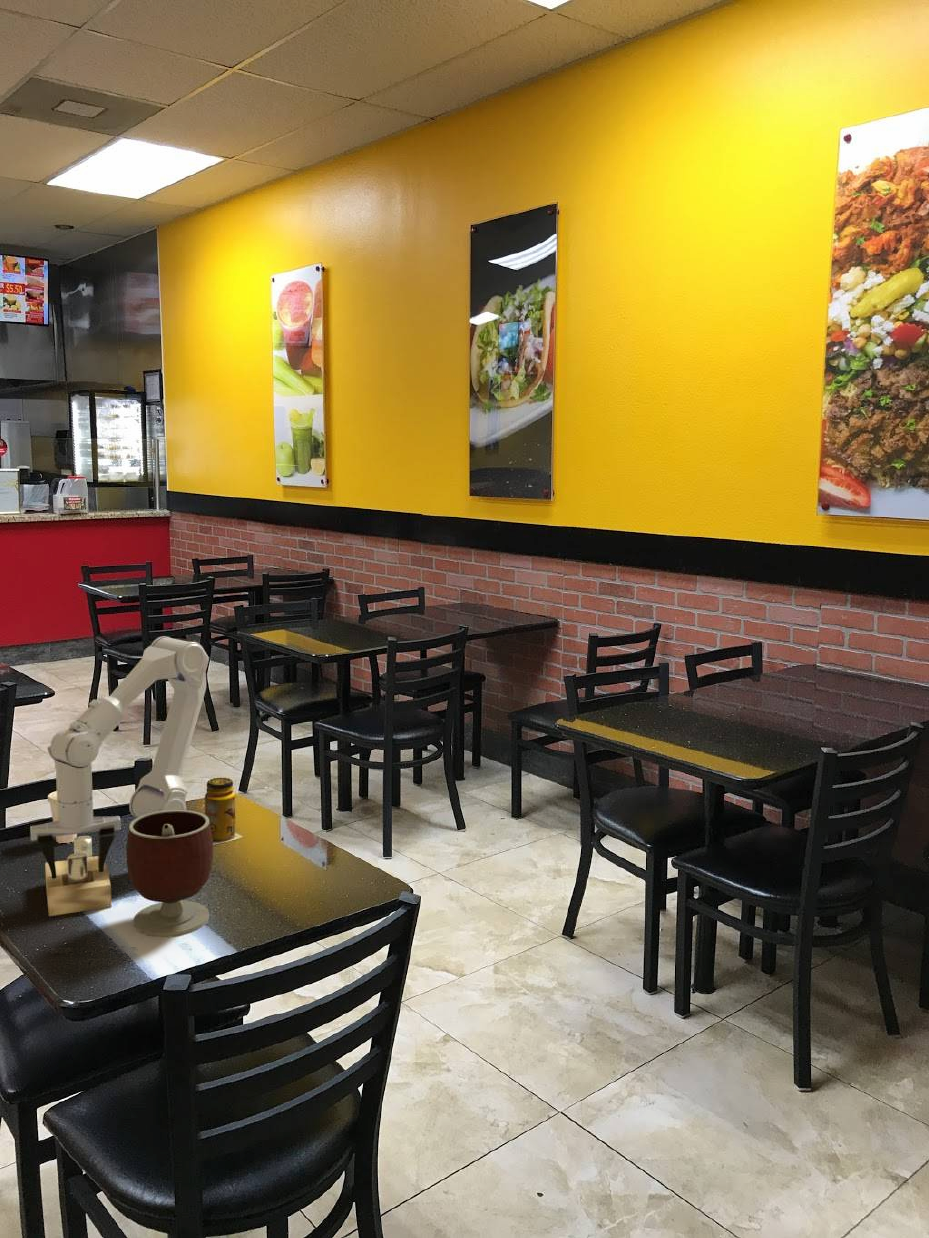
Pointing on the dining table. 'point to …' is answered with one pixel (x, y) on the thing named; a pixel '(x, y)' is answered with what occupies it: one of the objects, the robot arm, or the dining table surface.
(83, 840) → the short pin
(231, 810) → the condiment
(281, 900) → the dining table surface
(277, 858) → the dining table surface
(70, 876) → the tall pin
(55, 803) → the smoothie
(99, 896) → the pin block
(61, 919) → the dining table surface
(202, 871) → the mate gourd
